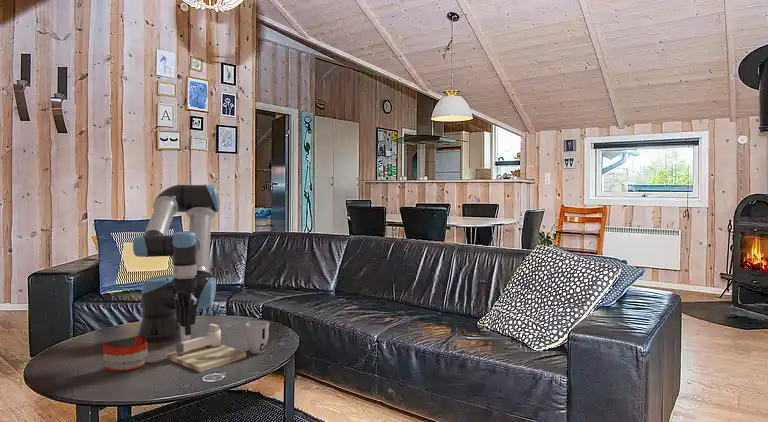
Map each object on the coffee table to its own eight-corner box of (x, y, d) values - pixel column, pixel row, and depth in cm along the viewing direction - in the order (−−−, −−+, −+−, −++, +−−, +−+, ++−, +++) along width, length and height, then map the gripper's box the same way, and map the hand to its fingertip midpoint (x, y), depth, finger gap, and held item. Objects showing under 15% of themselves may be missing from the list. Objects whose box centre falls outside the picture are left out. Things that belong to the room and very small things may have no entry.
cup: (263, 355, 183) (263, 327, 182) (241, 354, 185) (241, 326, 184) (272, 348, 191) (272, 321, 190) (252, 346, 193) (251, 319, 192)
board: (166, 358, 179) (166, 353, 179) (213, 345, 194) (213, 340, 194) (200, 372, 167) (200, 366, 167) (247, 356, 182) (247, 351, 182)
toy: (120, 376, 164) (120, 351, 163) (101, 369, 169) (101, 345, 169) (156, 364, 174) (156, 340, 174) (138, 358, 180) (137, 335, 179)
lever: (215, 341, 192) (215, 322, 191) (223, 344, 189) (223, 324, 188) (173, 353, 179) (173, 332, 178) (181, 356, 176) (180, 335, 175)
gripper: (164, 276, 183) (166, 342, 184) (185, 280, 174) (186, 350, 176) (184, 273, 188) (185, 337, 190) (205, 277, 180) (206, 344, 182)
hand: (186, 343), depth 183 cm, fingers closed
